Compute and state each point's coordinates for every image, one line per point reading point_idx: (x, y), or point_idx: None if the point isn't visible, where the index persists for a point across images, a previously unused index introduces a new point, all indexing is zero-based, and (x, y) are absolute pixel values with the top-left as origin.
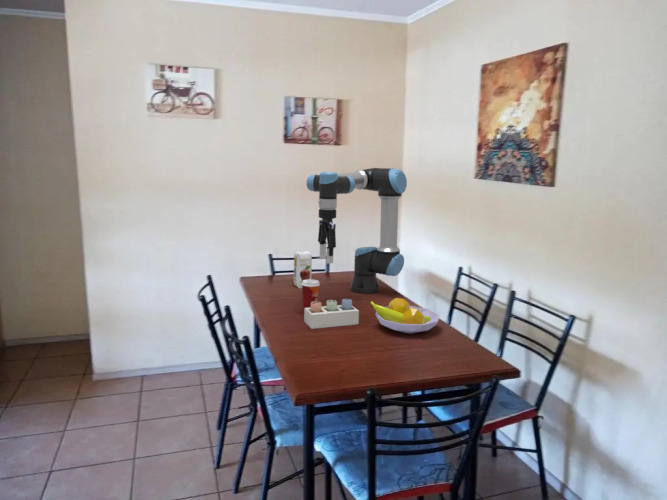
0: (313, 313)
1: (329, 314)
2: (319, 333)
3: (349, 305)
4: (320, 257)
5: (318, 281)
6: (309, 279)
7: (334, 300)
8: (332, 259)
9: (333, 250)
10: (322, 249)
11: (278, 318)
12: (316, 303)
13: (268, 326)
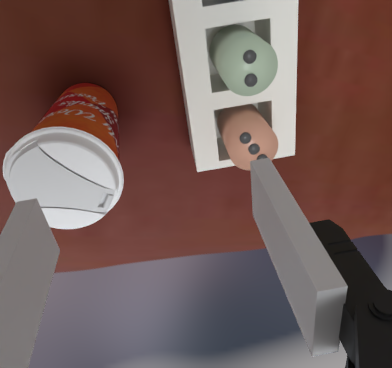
0: (279, 147)
1: (294, 78)
2: (327, 110)
3: None
4: (54, 261)
5: (67, 145)
6: (15, 191)
7: (237, 49)
8: (281, 187)
9: (328, 257)
10: (23, 323)
11: (146, 220)
12: (267, 149)
13: (220, 246)
